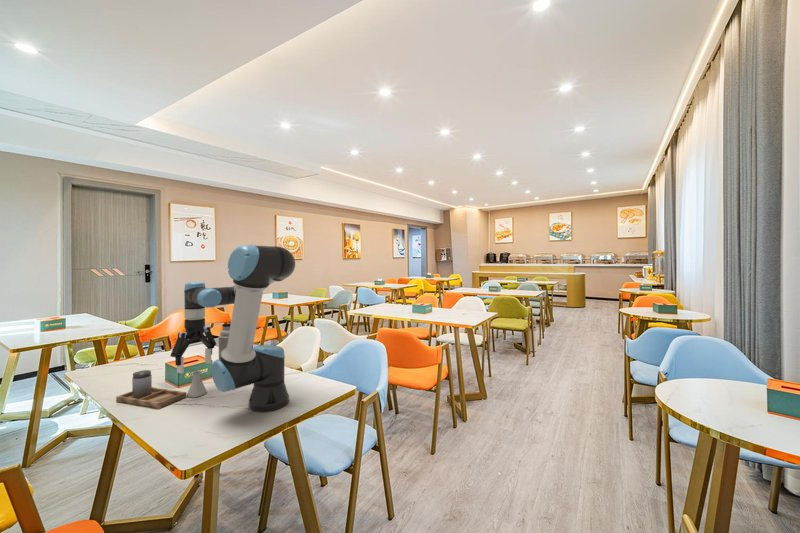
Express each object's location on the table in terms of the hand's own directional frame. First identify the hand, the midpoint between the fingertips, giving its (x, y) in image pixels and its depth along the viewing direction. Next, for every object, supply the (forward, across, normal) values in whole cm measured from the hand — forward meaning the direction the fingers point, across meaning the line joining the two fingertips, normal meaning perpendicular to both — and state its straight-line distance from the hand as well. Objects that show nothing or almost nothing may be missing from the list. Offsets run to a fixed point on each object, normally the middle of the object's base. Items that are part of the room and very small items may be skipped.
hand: (194, 367), depth 143 cm
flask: (+12, 0, +1) cm, 12 cm away
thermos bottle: (+12, -16, +2) cm, 20 cm away
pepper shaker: (+11, +9, -18) cm, 23 cm away
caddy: (+12, +9, -12) cm, 19 cm away
